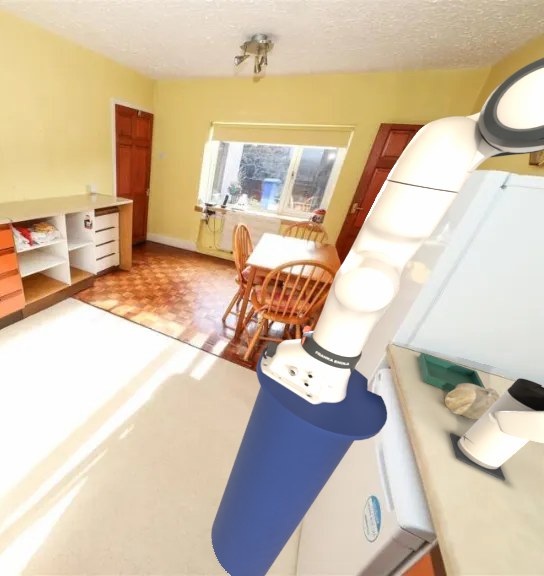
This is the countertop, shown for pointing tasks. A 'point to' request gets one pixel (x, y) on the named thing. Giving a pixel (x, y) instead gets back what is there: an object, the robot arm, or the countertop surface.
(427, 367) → the tray
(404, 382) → the countertop surface
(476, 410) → the garlic bulb
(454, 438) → the mat
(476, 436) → the travel mug
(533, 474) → the countertop surface
